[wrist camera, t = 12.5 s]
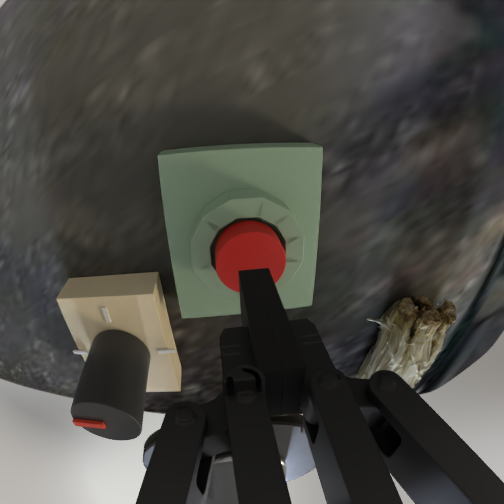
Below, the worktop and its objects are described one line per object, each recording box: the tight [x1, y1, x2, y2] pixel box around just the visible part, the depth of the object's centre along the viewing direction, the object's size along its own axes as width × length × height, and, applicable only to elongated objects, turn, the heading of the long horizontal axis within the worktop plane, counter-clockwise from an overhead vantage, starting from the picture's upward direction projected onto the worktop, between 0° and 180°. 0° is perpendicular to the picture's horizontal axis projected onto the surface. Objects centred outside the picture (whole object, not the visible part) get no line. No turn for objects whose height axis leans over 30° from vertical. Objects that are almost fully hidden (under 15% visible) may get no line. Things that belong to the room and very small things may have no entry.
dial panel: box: [56, 272, 181, 392], centre depth 23 cm, size 11×9×3 cm
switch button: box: [215, 220, 286, 293], centre depth 18 cm, size 4×4×2 cm
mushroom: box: [357, 296, 456, 388], centre depth 28 cm, size 14×10×5 cm, turn 175°
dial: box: [71, 330, 151, 440], centre depth 19 cm, size 5×5×7 cm
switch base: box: [157, 143, 323, 318], centre depth 20 cm, size 12×10×4 cm
